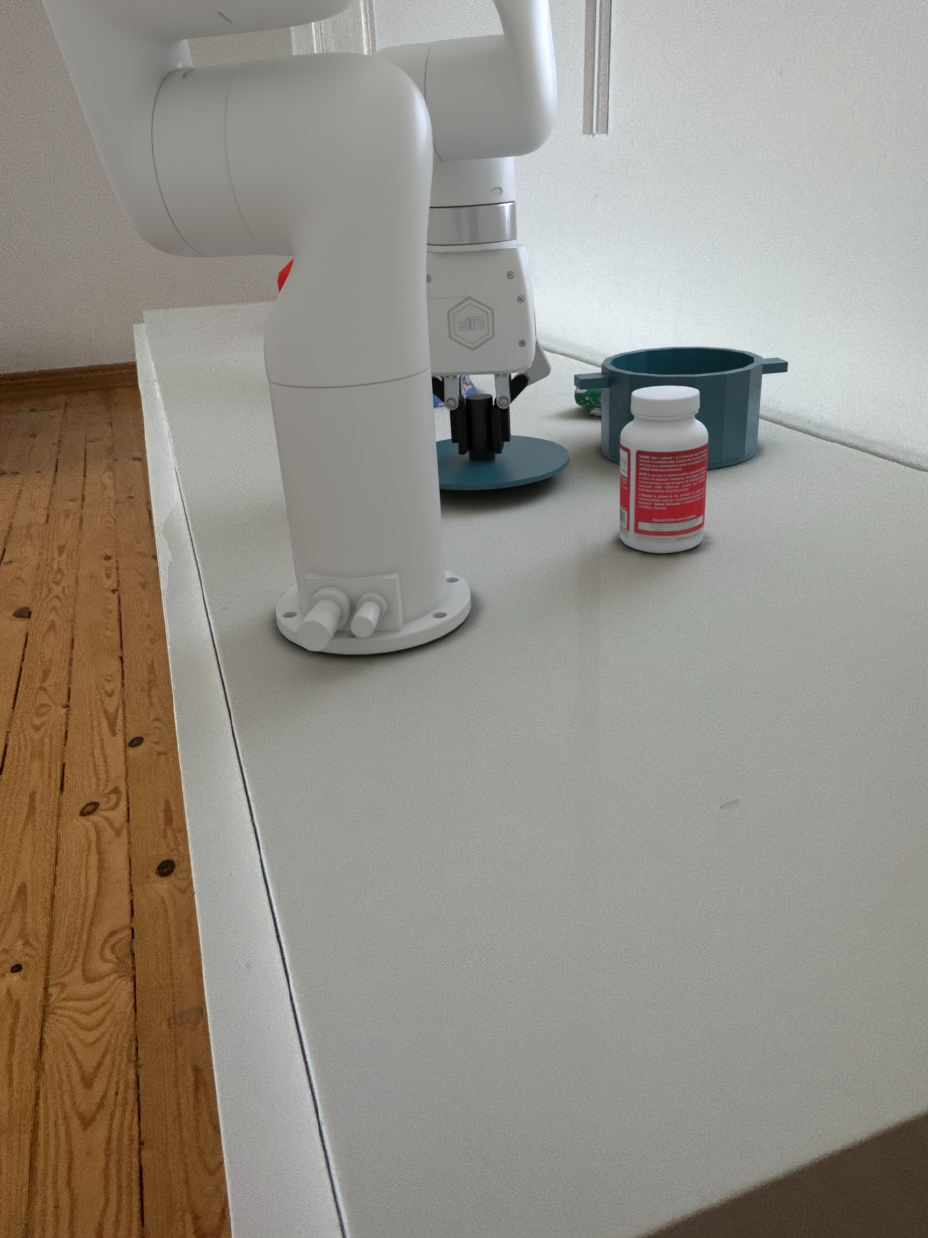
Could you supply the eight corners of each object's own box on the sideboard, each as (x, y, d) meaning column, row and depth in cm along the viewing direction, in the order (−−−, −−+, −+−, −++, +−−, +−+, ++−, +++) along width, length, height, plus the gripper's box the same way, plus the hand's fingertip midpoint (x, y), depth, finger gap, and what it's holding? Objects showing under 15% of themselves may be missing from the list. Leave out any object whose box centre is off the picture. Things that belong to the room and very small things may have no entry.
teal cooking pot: (810, 459, 88) (819, 365, 85) (597, 480, 86) (597, 384, 83) (747, 422, 101) (752, 339, 98) (560, 439, 99) (559, 355, 96)
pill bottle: (721, 541, 71) (730, 390, 66) (660, 562, 68) (664, 405, 63) (661, 520, 76) (666, 378, 71) (602, 539, 73) (602, 392, 68)
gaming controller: (577, 425, 111) (563, 397, 106) (586, 397, 112) (572, 367, 107) (655, 431, 107) (643, 401, 102) (663, 401, 108) (652, 371, 103)
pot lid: (588, 486, 81) (588, 408, 78) (403, 504, 79) (396, 425, 76) (549, 439, 95) (547, 371, 92) (391, 454, 93) (384, 386, 90)
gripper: (363, 237, 76) (385, 464, 84) (568, 226, 74) (571, 460, 82) (382, 230, 83) (401, 441, 91) (571, 220, 81) (573, 437, 88)
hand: (481, 448), depth 86 cm, fingers closed on pot lid, 2 cm apart
